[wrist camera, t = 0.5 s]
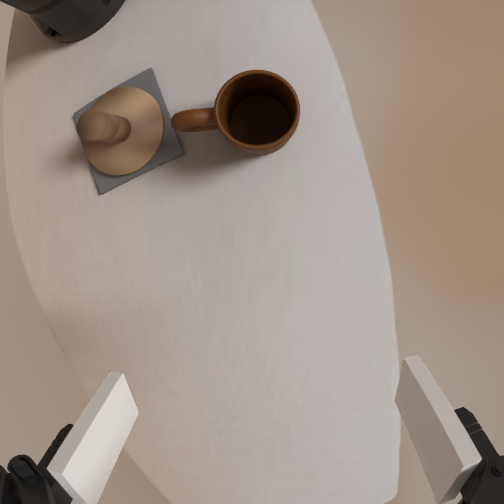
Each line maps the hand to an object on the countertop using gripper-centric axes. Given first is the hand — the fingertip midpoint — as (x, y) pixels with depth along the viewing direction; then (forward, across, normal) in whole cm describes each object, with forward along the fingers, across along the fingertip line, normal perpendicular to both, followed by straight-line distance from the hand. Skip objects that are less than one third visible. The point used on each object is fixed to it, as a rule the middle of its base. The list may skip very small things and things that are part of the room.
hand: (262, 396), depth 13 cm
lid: (+25, -16, +16) cm, 34 cm away
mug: (+26, -2, +14) cm, 30 cm away
